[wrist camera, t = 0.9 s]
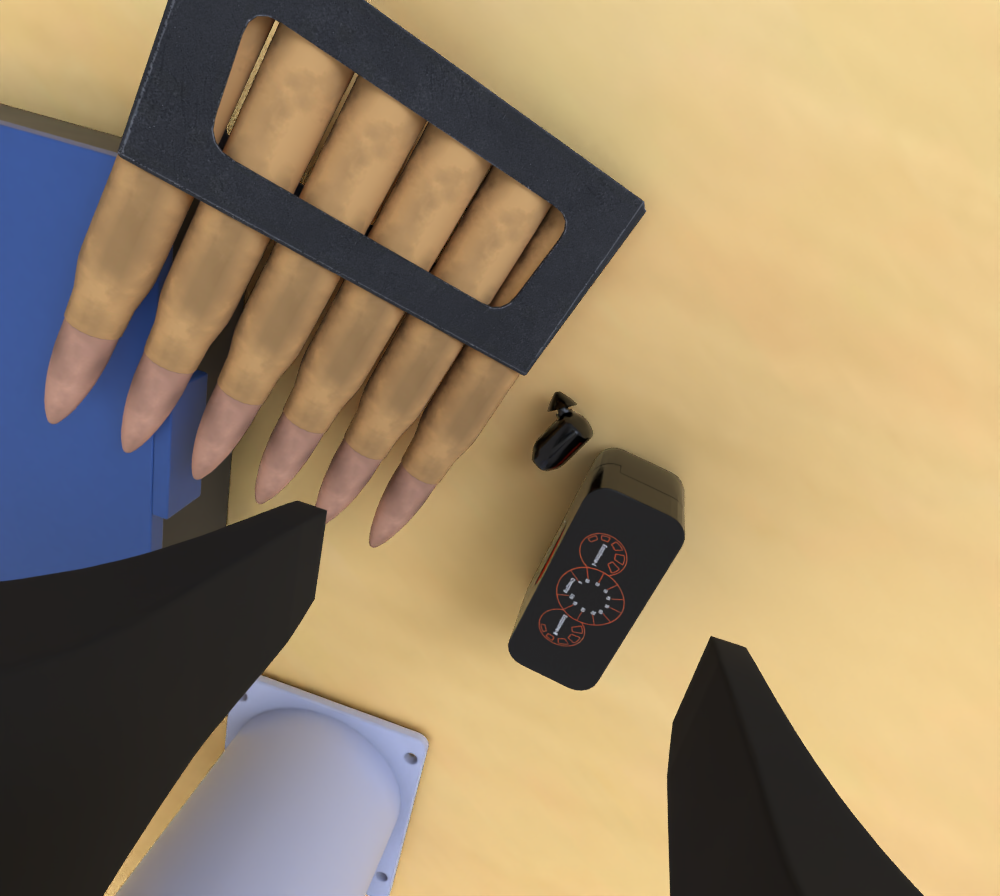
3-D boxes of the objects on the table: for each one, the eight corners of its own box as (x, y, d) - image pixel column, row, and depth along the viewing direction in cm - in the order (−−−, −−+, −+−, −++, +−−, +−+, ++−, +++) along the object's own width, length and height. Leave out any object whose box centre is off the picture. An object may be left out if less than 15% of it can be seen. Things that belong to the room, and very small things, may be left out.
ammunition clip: (651, 206, 17) (402, 576, 21) (624, 193, 19) (398, 539, 23) (205, -114, 13) (-7, 423, 17) (220, -97, 14) (24, 390, 18)
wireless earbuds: (705, 452, 21) (709, 501, 18) (599, 630, 24) (587, 697, 21) (559, 383, 21) (539, 421, 18) (472, 568, 24) (443, 627, 21)
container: (242, 583, 27) (161, 663, 22) (-31, 488, 28) (-155, 547, 24) (281, 170, 20) (180, 175, 16) (-70, 73, 22) (-246, 54, 18)
